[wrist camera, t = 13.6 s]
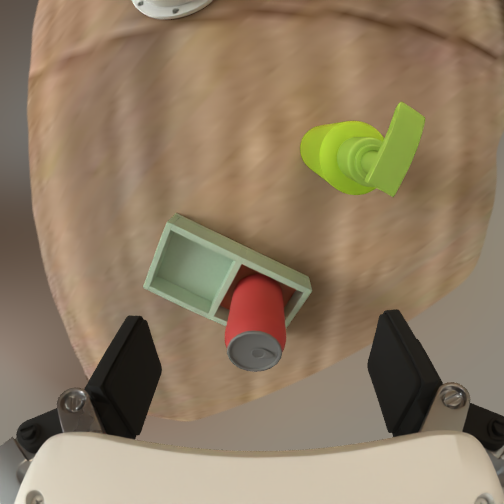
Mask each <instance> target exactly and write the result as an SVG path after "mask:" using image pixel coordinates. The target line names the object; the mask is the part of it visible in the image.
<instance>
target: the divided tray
mask: <svg viewBox="0 0 504 504" xmlns="http://www.w3.org/2000/svg"><path fill="white" fill-rule="evenodd" d="M254 274H262V275H266V276H268V277H271V278H273V279H274V280H275V281H276V282H278V284H279V285H280V287H281V289H282V294H283V303H284V315H285V328H287V326H288V325H289V323H290V322H291V321H292V319H293V318H294V316H295V315H296V314H297V312H298V311H299V309H300V308H301V306H302V305H303V303H304V302H305V301H306V299H307V298H308V296H309V295H310V293H311V292H312V288H311V284H310V280H309V277H308V276H306V275H304V274H302V273H300V272H298V271H296V270H294V269H291V268H289V267H287V266H285V265H283V264H281V263H279V262H277V261H275V260H273V259H271V258H269V257H267V256H264V255H262V254H260V253H258V252H256V251H254V250H252V249H250V248H248V247H246V246H244V245H242V244H240V243H237V242H235V241H233V240H231V239H229V238H227V237H225V236H223V235H221V234H219V233H217V232H215V231H213V230H210V229H208V228H206V227H204V226H202V225H200V224H198V223H196V222H194V221H192V220H190V219H187V218H185V217H183V216H181V215H179V214H177V213H176V214H175V215H174V216H173V217H172V218H170V219H169V220H168V221H167V223H166V226H165V228H164V231H163V233H162V236H161V239H160V241H159V244H158V247H157V249H156V252H155V255H154V258H153V260H152V263H151V266H150V269H149V272H148V275H147V278H146V281H145V284H144V287H143V288H145V289H147V290H149V291H151V292H153V293H155V294H157V295H159V296H161V297H163V298H165V299H167V300H169V301H171V302H173V303H176V304H178V305H180V306H182V307H184V308H186V309H188V310H190V311H193V312H195V313H197V314H199V315H201V316H204V317H206V318H208V319H210V320H213V321H215V322H217V323H220V324H222V325H224V326H227V321H228V316H229V311H230V306H231V301H232V296H233V291H234V289H235V287H236V284H237V283H238V282H239V281H240V280H241V279H243V278H245V277H247V276H249V275H254Z"/></svg>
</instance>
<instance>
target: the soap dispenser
mask: <svg viewBox="0 0 504 504" xmlns="http://www.w3.org/2000/svg"><path fill="white" fill-rule="evenodd" d="M424 123H425V117H424V116H422V115H421V114H420V113H418V112H417V111H415V110H414V109H412V108H411V107H409V106H408V105H406V104H405V103H403V102H400V103H399V104H398V105H397V107H396V109H395V112H394V115H393V118H392V121H391V124H390V126H389V129H388V131H387V134H386V136H385V138H384V137H383V136H382V135H381V134H380V132H379V131H378V130H376V129H375V128H374V127H372V126H371V125H369V124H367V123H364V122H360V121H346V122H340V123H334V124H328V125H322V126H317V127H314V128H312V129H310V130H309V131H308V132H307V133H306V134H305V135H304V137H303V138H302V141H301V145H300V153H301V157H302V159H303V161H304V163H305V164H306V165H307V166H308V167H309V168H310V169H311V170H313V171H314V172H315V173H317V174H318V175H319V176H320V177H322V178H323V179H324V180H326V181H327V182H328V183H329V184H331V185H332V186H333V187H334V188H336V189H337V190H339V191H341V192H343V193H346V194H350V195H361V194H366V193H368V192H371V191H373V190H374V189H376V188H378V189H380V190H381V191H383V192H385V193H387V194H389V195H390V196H392V197H394V196H395V194H396V192H397V190H398V188H399V186H400V184H401V182H402V180H403V178H404V176H405V174H406V172H407V170H408V168H409V166H410V164H411V162H412V160H413V157H414V155H415V152H416V150H417V147H418V144H419V141H420V138H421V135H422V131H423V127H424Z"/></svg>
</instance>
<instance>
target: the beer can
mask: <svg viewBox="0 0 504 504" xmlns="http://www.w3.org/2000/svg"><path fill="white" fill-rule="evenodd" d="M285 342H286V328H285V315H284V303H283V294H282V289H281V287H280V285H279V284H278V282H276V281H275V280H274V279H273V278H271V277H268V276H266V275H262V274H254V275H249V276H247V277H245V278H243V279H241V280H240V281H239V282H238V283H237V284H236V287H235V289H234V291H233V296H232V301H231V306H230V311H229V316H228V321H227V326H226V331H225V344H226V347H227V354H228V357H229V359H230V360H231V362H232V363H233V364H234V365H236V366H237V367H239V368H241V369H244V370H247V371H254V372H257V371H265V370H267V369H270V368H272V367H273V366H275V365H276V364H277V363H278V362H279V360H280V359H281V356H282V352H283V350H284V347H285Z"/></svg>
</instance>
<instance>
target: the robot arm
mask: <svg viewBox="0 0 504 504" xmlns="http://www.w3.org/2000/svg"><path fill="white" fill-rule="evenodd" d="M132 1H133V3H134V5H135V7H136V8H137V9H138V10H139V11H140V12H142V13H143V14H144V15H147V16H149V17H151V18H156V19H176V18H180V17H184V16H187V15H190V14H192V13H195V12H197V11H199V10H200V9H202V8H204V7H205V6H207V5H208V4H210V3H211V2H212V1H213V0H132ZM177 12H178V13H177ZM368 371H369V374H370V377H371V380H372V383H373V385H374V389H375V392H376V395H377V398H378V401H379V404H380V407H381V411H382V414H383V417H384V420H385V423H386V426H387V430H388V432H389V433H392V434H393V437H392V438H388V439H382V440H377V441H371V442H365V443H358V444H352V445H344V446H338V447H328V448H318V449H306V450H289V451H228V450H211V449H199V448H188V447H180V446H172V445H165V444H159V443H152V442H146V441H140V440H135V438H136V435H140V433H141V430H142V427H143V424H144V421H145V418H146V415H147V413H148V410H149V407H150V404H151V401H152V398H153V395H154V392H155V390H156V387H157V384H158V381H159V378H160V376H161V372H162V367H161V363H160V361H159V358H158V355H157V352H156V349H155V345H154V342H153V339H152V336H151V333H150V329H149V326H148V323H147V321H146V320H144V319H143V318H142V317H141V316H128V317H127V318H126V319H125V321H124V323H123V324H122V326H121V327H120V329H119V331H118V332H117V334H116V336H115V337H114V339H113V341H112V342H111V344H110V346H109V347H108V349H107V350H106V352H105V354H104V356H103V357H102V359H101V361H100V362H99V364H98V366H97V368H96V369H95V371H94V373H93V375H92V376H91V378H90V380H89V382H88V384H87V385H86V387H85V389H81V388H71V389H68V390H66V391H64V392H63V393H62V394H61V395H60V397H59V398H58V401H57V408H56V409H54V410H51V411H49V412H47V413H44V414H42V415H40V416H37V417H35V418H32V419H30V420H27V421H25V422H24V423H22V424H21V425H20V426H19V428H18V430H17V434H16V435H17V438H16V439H14V438H13V437H12V438H11V439H9V440H8V441H6V442H5V443H4V444H3V445H1V446H0V503H1V504H504V416H502V415H499V414H497V413H494V412H491V411H489V410H487V409H484V408H482V407H479V406H477V405H474V404H472V403H470V395H469V392H468V391H467V389H466V388H465V387H463V386H462V385H460V384H458V383H454V382H451V383H445V384H443V383H442V381H441V379H440V377H439V375H438V373H437V372H436V370H435V368H434V366H433V364H432V362H431V361H430V359H429V357H428V355H427V354H426V352H425V350H424V348H423V347H422V345H421V343H420V342H419V340H418V339H416V338H415V336H414V334H413V332H412V331H411V329H410V327H409V326H408V324H407V322H406V321H405V319H404V317H403V316H402V314H401V313H400V311H399V310H397V309H396V310H386V311H384V313H383V314H381V315H380V316H379V320H378V324H377V328H376V333H375V337H374V341H373V344H372V349H371V352H370V356H369V359H368Z"/></svg>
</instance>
